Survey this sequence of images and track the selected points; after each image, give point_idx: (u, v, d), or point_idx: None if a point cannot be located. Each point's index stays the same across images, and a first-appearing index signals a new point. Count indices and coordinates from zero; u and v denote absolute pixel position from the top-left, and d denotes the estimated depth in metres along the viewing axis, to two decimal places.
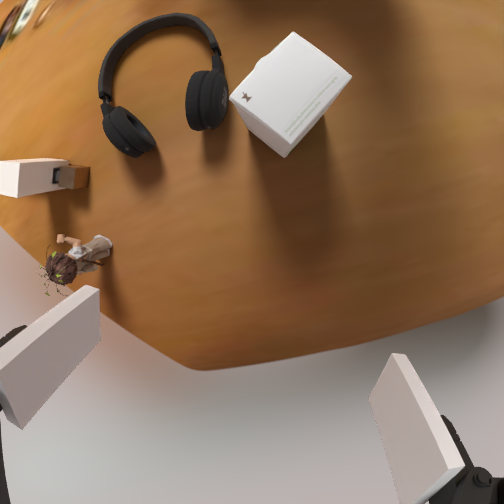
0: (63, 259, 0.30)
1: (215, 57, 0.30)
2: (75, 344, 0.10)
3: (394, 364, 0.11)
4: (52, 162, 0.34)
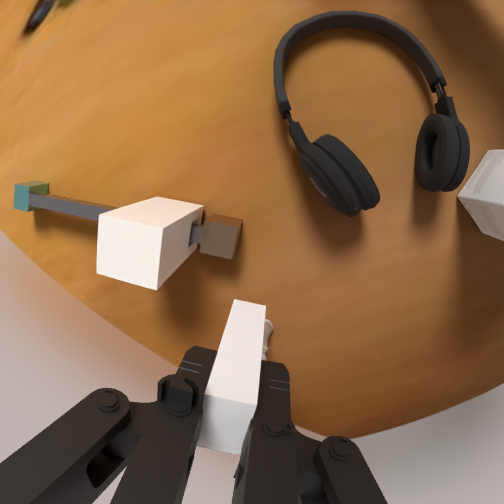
0: None
1: (449, 99, 0.21)
2: None
3: (247, 312, 0.13)
4: (191, 214, 0.25)
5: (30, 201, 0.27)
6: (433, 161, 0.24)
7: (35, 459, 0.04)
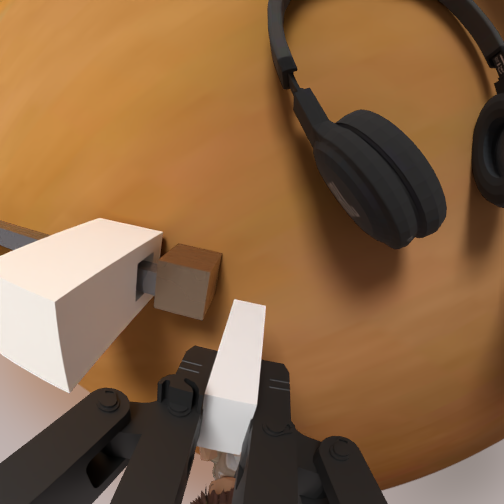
0: None
1: None
2: None
3: (247, 312, 0.13)
4: (135, 252, 0.15)
5: None
6: (498, 162, 0.14)
7: (35, 459, 0.04)
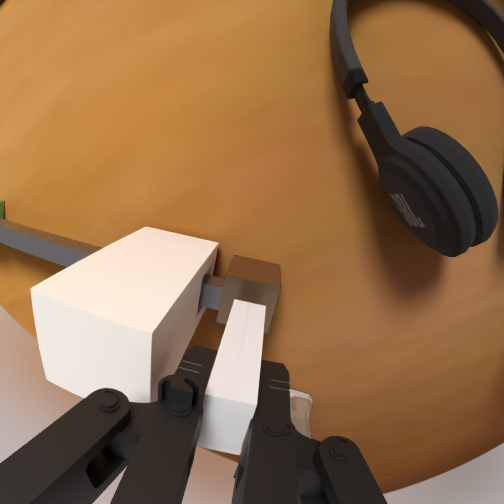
0: None
1: None
2: None
3: (247, 312, 0.13)
4: (203, 266, 0.15)
5: None
6: None
7: (35, 459, 0.04)
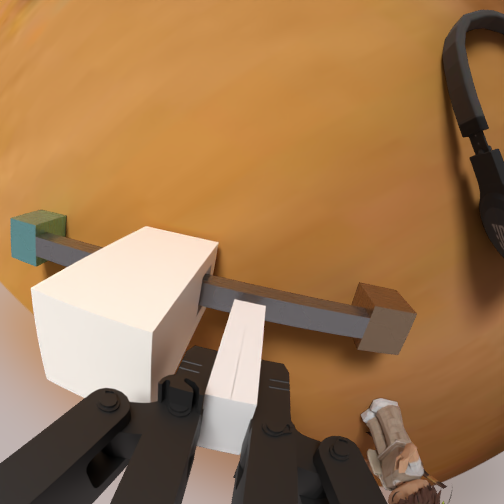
0: (435, 499, 0.11)
1: None
2: None
3: (247, 312, 0.13)
4: (203, 266, 0.15)
5: (39, 250, 0.17)
6: None
7: (35, 459, 0.04)
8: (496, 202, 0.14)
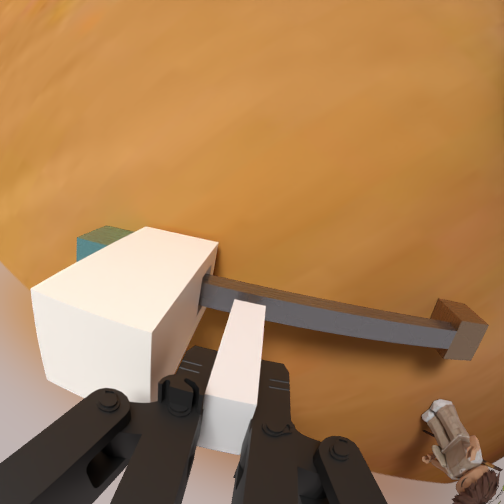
0: (496, 480, 0.11)
1: None
2: None
3: (247, 312, 0.13)
4: (202, 266, 0.15)
5: None
6: None
7: (35, 459, 0.04)
8: None
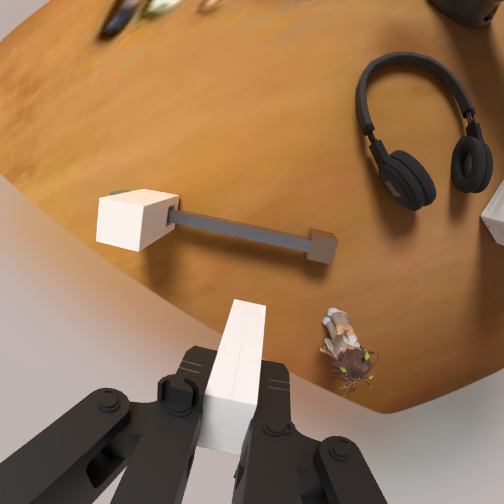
0: None
1: (477, 125, 0.27)
2: None
3: (247, 312, 0.13)
4: (168, 200, 0.33)
5: None
6: (465, 170, 0.31)
7: (35, 459, 0.04)
8: (382, 168, 0.31)
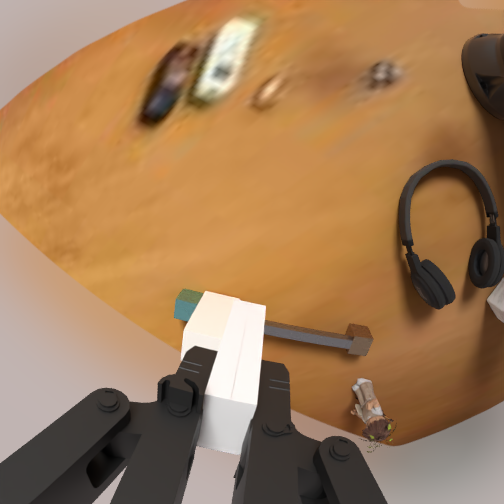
0: (387, 425, 0.34)
1: (498, 228, 0.33)
2: None
3: (247, 312, 0.13)
4: None
5: None
6: (480, 265, 0.36)
7: (35, 459, 0.04)
8: (414, 277, 0.36)
